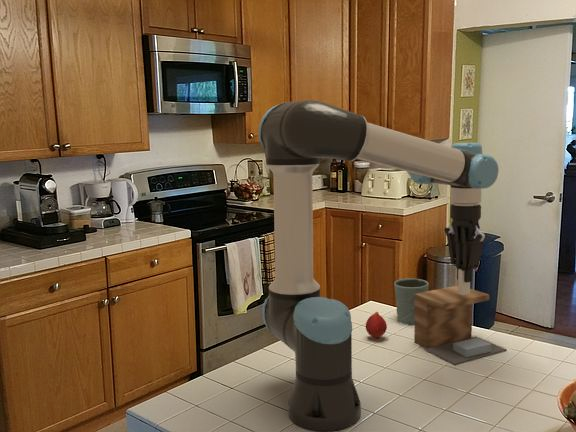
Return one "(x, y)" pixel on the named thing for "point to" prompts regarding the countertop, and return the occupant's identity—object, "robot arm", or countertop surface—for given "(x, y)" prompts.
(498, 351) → the mat
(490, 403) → the countertop surface
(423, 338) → the brown flat-topped block
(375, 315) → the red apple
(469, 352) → the box
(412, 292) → the grey-green tapered bin
